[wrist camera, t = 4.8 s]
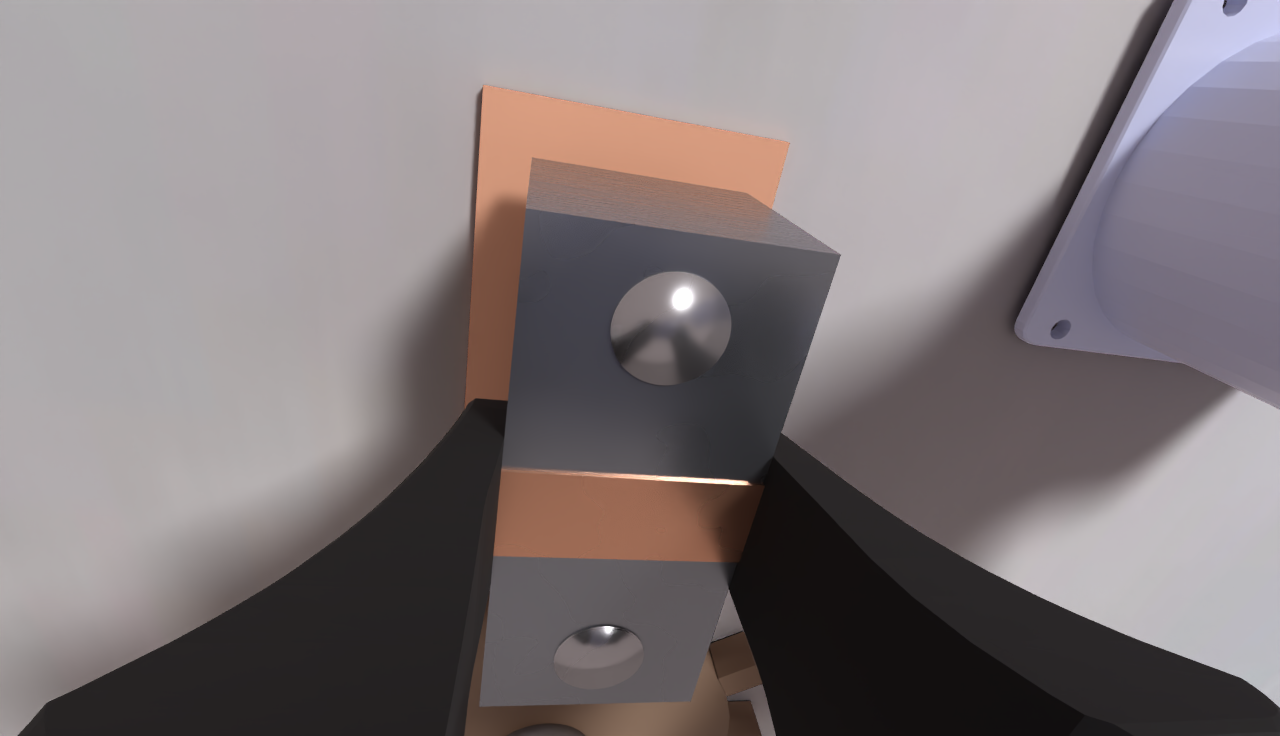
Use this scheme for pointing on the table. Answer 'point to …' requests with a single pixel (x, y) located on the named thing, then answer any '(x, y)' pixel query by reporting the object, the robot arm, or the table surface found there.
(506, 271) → the copper rectangular plate
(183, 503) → the table surface
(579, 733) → the sprocket
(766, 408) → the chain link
